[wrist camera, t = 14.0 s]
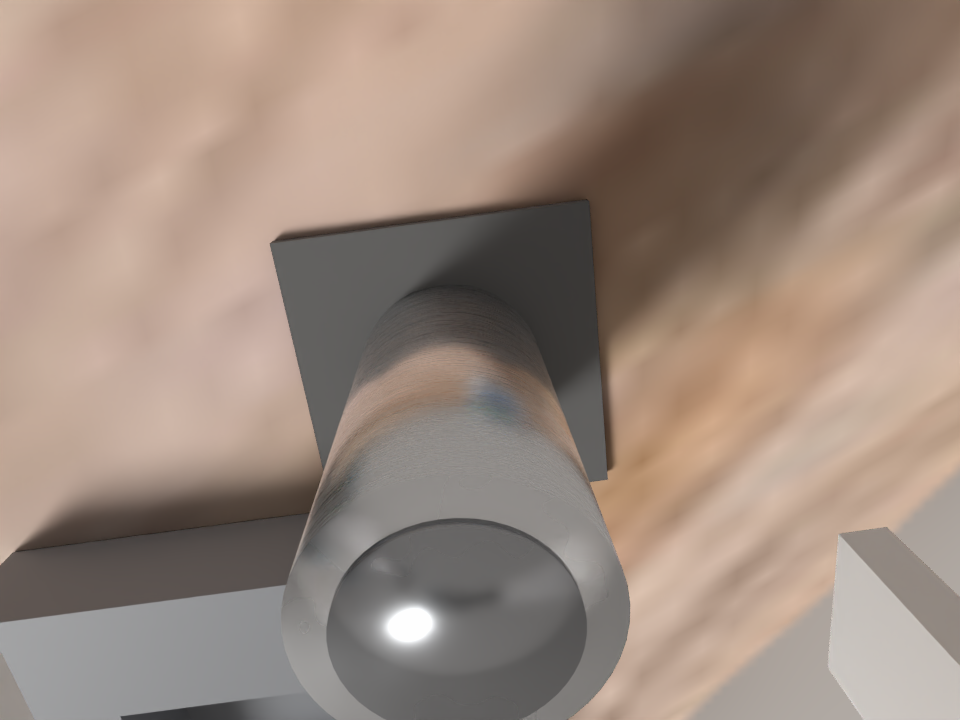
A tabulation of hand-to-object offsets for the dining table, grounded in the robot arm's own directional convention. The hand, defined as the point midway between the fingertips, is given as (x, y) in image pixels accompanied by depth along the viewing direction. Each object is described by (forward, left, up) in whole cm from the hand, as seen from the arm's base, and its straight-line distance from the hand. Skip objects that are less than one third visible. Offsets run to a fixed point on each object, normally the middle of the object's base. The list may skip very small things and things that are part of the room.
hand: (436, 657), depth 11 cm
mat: (0, 0, -13) cm, 13 cm away
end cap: (0, 0, -13) cm, 13 cm away
